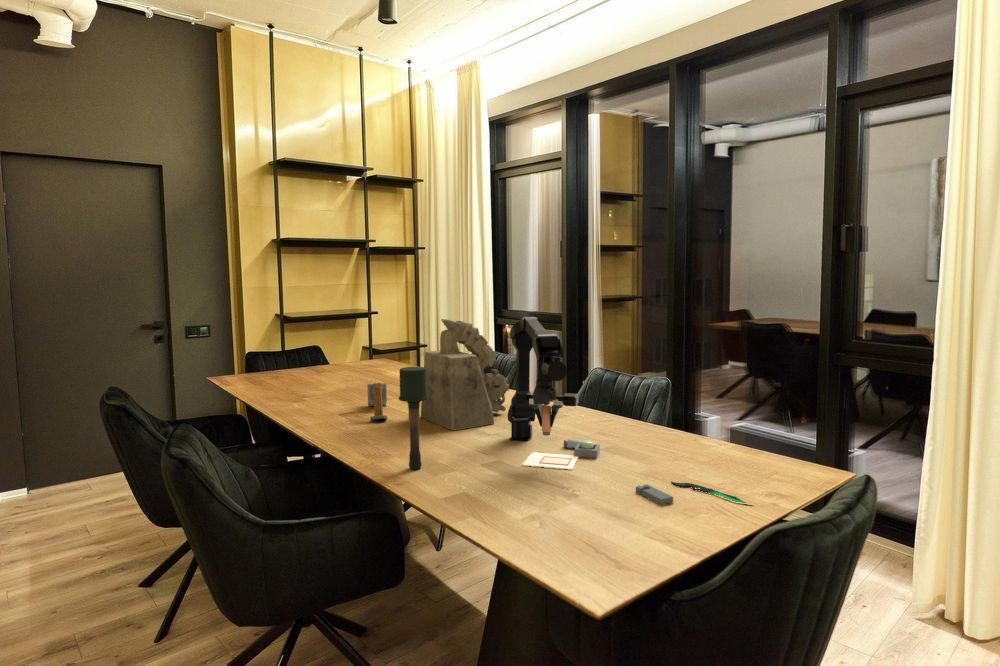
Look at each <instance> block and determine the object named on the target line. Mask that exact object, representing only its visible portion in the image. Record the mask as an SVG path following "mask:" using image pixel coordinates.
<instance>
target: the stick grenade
mask: <svg viewBox="0 0 1000 666" xmlns="http://www.w3.org/2000/svg"><path fill="white" fill-rule="evenodd" d="M427 399H428V395H427V369H426V368H424V366H404V367H402V368H400V369H399V396H398V400H399V401H401V402H406V403H407V407H408V421H409V443H410V444H409V447H410V449H409V454H408V455H409V456H408V457H409V459H408V461H409V462H408V467H409V469H410V470H412V469H413V470H412V471H416V470H415V469H418V470H421V467H422V456H421V455H422V454H421V451H420V418H421V414H420V408H421V406H420V405H421V402H422V401H424V400H427Z"/></svg>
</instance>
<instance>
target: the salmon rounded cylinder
mask: <svg viewBox="0 0 1000 666" xmlns="http://www.w3.org/2000/svg"><path fill="white" fill-rule="evenodd" d="M551 406H552V405H551V404H548V405H544V404H542V427H541V432H542V436H551V432H552V427H551V425H550V422H551V412H552V409H551Z"/></svg>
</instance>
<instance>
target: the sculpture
mask: <svg viewBox="0 0 1000 666" xmlns="http://www.w3.org/2000/svg"><path fill="white" fill-rule="evenodd" d="M440 321H441V323H443V325H444V326H445V328H446V329H444V330H442V331H441V332H440V335H439V349H440V350H428V351H425V352H424V363H423V367H424V368H426V369H427V395H428V399H427V400H424V401H421V402H420V405H421V406H420V418H422V419H425V420H427V421H429V422H431V423H433V422H434V423H433V424H436V425H439V426H440V425H441V427H443V428H445V429H447V428H448V429H447V430H450V431H461V430H465V429H466V428H467V429H472V428H477V427H483V426H488V425H492V424H495V418H494V415H493V414H494V413H493V412H495V413H499V411H502V412H505V411H506V406H504V403H506V402H505V401H506V393H507V392H509V391H510V384H509V383H507V382H508V380H509V379H508V377H505V376H504V375H503V374H500V373H499V370H498V369H495V368H492V369H491V370H490V371H491V372H490V373H486V374H485V372H484V371H485V369H486V368H487V367H490V368H491V367H493V366H494V364H495V362H496V361H497V359H496V357H495V352H494V349H493V348H492V347H491V346H490V345H489V342H488V340H487V339H486V338H485V337H484V336H483V335H482V334H480V331H479V328H478V327H474V326H473V324H472V323H470V322H465V321H462V320H456V321H454V320H450V319H445V318H442V319H440ZM458 344H461V345H462V346H464V347H465V349H466V350H467V351H468V352H470V353H468V352H463V351H460V348H459V346H458ZM467 429H466V430H467Z"/></svg>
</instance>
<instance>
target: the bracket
mask: <svg viewBox="0 0 1000 666" xmlns="http://www.w3.org/2000/svg"><path fill="white" fill-rule="evenodd" d="M636 492H637V494H638V493H639V494H638V495H642V497H644V496H645V497H644V498H647V499H648V498H649V499H648V500H650V499H651V500H650V501H652V500H653V501H652V502H654V503H656V502H657V503H656V504H658V505H659V504H661V505H660V506H664V505H663V504H666V505H668V504H667V503H670V504H673V503H674V497H673V496H672V495H670V494H668V493H666V492H663V491H662V490H659V488H656V487H655V486H652V485H650V484H643V485H636V486H635V493H636ZM672 502H673V503H672Z"/></svg>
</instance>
